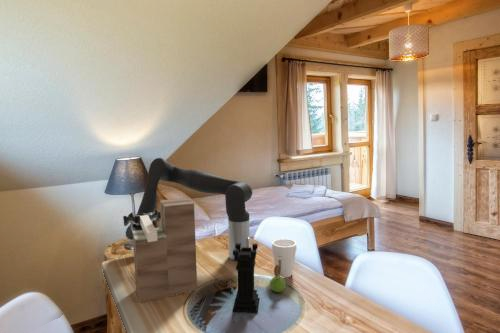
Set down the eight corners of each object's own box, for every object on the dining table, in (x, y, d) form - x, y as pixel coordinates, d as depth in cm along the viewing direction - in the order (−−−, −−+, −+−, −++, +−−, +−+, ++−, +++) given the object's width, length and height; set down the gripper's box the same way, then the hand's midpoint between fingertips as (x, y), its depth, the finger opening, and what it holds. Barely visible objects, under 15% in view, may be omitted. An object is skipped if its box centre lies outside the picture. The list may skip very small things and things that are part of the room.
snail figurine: (287, 287, 126) (287, 256, 125) (283, 296, 120) (283, 263, 119) (273, 285, 128) (273, 254, 126) (268, 293, 122) (268, 261, 120)
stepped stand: (136, 289, 126) (130, 203, 122) (190, 279, 134) (187, 197, 130) (139, 302, 117) (133, 210, 113) (197, 290, 125) (194, 203, 121)
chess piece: (259, 300, 118) (258, 243, 115) (257, 313, 110) (257, 252, 107) (236, 299, 119) (234, 242, 116) (232, 312, 111) (231, 251, 108)
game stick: (140, 223, 132) (139, 215, 132) (148, 222, 133) (147, 215, 133) (147, 242, 112) (147, 233, 112) (157, 240, 113) (157, 231, 113)
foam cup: (269, 278, 134) (269, 245, 132) (275, 268, 143) (275, 237, 141) (293, 281, 131) (293, 248, 129) (298, 271, 139) (298, 240, 138)
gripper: (121, 217, 144) (122, 206, 130) (157, 213, 149) (161, 202, 135) (123, 235, 141) (124, 225, 127) (159, 230, 147) (164, 220, 133)
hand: (143, 213), depth 131 cm, fingers open, 8 cm apart
